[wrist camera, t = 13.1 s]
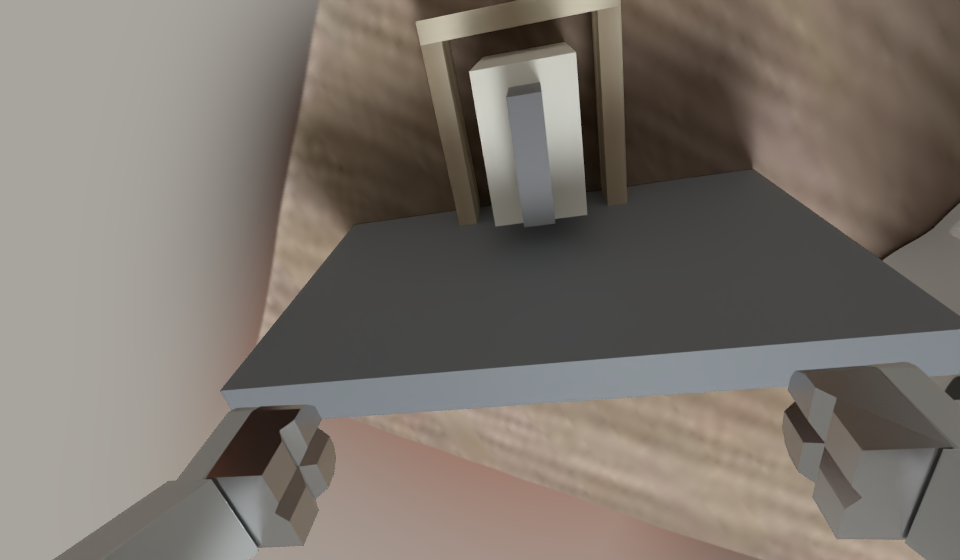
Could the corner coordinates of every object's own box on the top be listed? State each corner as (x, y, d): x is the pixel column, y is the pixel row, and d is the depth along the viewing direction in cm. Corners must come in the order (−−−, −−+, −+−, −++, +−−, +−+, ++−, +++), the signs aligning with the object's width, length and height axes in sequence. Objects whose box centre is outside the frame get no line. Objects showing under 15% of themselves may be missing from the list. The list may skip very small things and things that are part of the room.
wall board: (753, 169, 31) (976, 327, 16) (750, 197, 32) (958, 374, 17) (354, 224, 36) (220, 391, 20) (361, 248, 37) (239, 424, 21)
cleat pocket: (611, -19, 27) (619, -22, 24) (619, 187, 33) (627, 203, 30) (425, 20, 29) (415, 21, 26) (464, 209, 34) (459, 225, 32)
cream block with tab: (564, 41, 29) (582, 58, 19) (574, 170, 32) (593, 238, 23) (482, 56, 29) (461, 79, 20) (502, 181, 33) (491, 250, 24)
